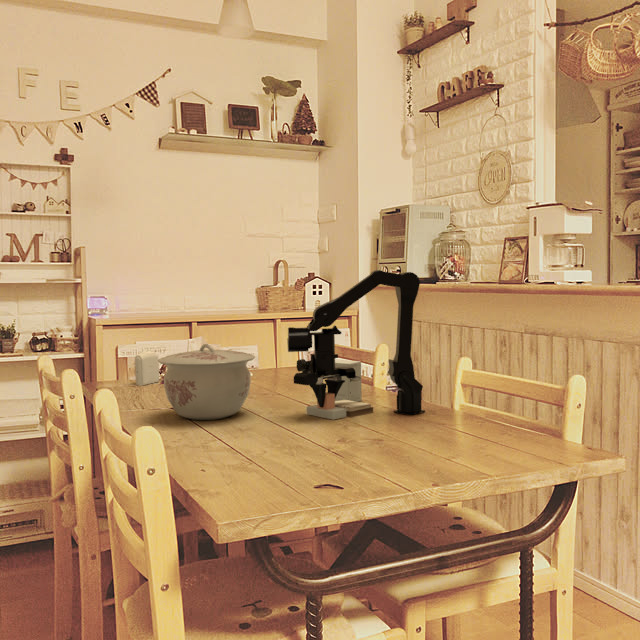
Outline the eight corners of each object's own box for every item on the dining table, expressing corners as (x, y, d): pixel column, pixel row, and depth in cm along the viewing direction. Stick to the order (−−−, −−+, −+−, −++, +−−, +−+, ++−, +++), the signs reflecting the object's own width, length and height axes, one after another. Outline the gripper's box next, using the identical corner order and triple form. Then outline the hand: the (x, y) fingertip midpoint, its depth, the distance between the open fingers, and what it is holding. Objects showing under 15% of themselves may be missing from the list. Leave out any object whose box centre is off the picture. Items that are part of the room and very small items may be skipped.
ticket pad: (373, 412, 195) (373, 403, 195) (350, 417, 190) (350, 408, 189) (344, 407, 204) (344, 398, 204) (321, 411, 198) (321, 402, 198)
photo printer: (142, 386, 255) (141, 353, 254) (133, 385, 257) (132, 352, 256) (161, 382, 264) (160, 350, 263) (152, 381, 266) (151, 349, 265)
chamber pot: (239, 427, 180) (237, 348, 179) (142, 424, 186) (139, 348, 184) (268, 407, 208) (266, 339, 206) (183, 405, 213) (181, 339, 212)
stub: (346, 416, 189) (345, 394, 189) (332, 419, 186) (332, 397, 185) (319, 411, 197) (319, 390, 197) (306, 414, 194) (306, 392, 194)
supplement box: (349, 404, 208) (348, 363, 207) (329, 402, 213) (328, 362, 212) (362, 401, 214) (361, 360, 213) (343, 398, 218) (342, 359, 218)
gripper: (330, 346, 203) (331, 398, 204) (280, 351, 190) (281, 407, 191) (356, 348, 194) (357, 402, 195) (306, 354, 182) (307, 412, 183)
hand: (326, 406), depth 191 cm, fingers closed on stub, 3 cm apart
